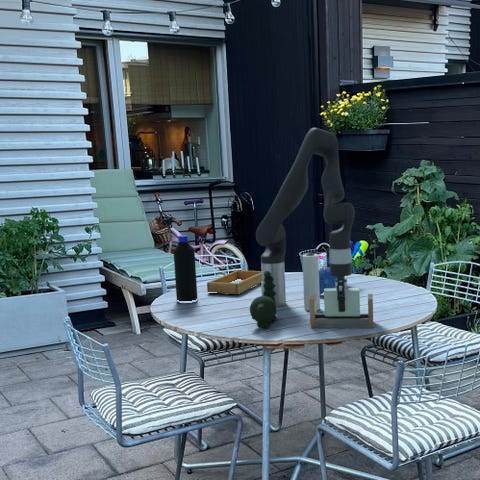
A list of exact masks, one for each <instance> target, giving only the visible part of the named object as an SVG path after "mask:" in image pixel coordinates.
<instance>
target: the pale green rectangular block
mask: <svg viewBox="0 0 480 480" xmlns="http://www.w3.org/2000/svg"><path fill="white" fill-rule="evenodd" d="M344 291H345V289H344ZM360 293H361V292H360V288H359V287H358V288H357V287H352V288H351V287H349V288H347V289H346V294H345V312H339V308H338V300H337V294H336V288H330V289H324V292H323V302H324V303H323V305H324V314H325V316H360V314H361V301H360V299H361V297H360V295H361V294H360ZM339 297H343V295H339Z"/></svg>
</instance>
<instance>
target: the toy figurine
mask: <svg viewBox="0 0 480 480" xmlns="http://www.w3.org/2000/svg"><path fill="white" fill-rule="evenodd" d="M264 276H265V278H264V282H265V283H264V285H263V287H264V289H265V290H264V292H263V296H262V295H260V296H257V297H256V298H254V299H253V300H252V301H251V304H250V305H249V312H250V316H251V319H252V320H253V321H256V325H257V327H258V328H259V329H268V328H269V327H270V323H273V324H274V323H275V322H276V321H277V320H278V319H277V318H278V316H277V314H278V306H276V304H275V303H276V302H275V298H274V295H276V292H274V290H273V289H274V287H275V284H273V280H274V278H273V277H272V276H271V273H270V272H269V271H265V272H264Z"/></svg>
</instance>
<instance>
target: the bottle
mask: <svg viewBox="0 0 480 480" xmlns="http://www.w3.org/2000/svg"><path fill="white" fill-rule="evenodd" d="M177 241H178V243H177V245H176V246H175V248H174V249H173V262H174V263H173V264H174V278H175V279H174V281H175V293H176V294H175V295H176V301H177V300H179V301H192V300H196V299H197V298H198V287H197V285H198V284H197V270H196V255H195V254H196V252H195V248H194V247H193V246H192V244H190V242H189V237H188V235H184V234H183V235H178V236H177Z"/></svg>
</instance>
